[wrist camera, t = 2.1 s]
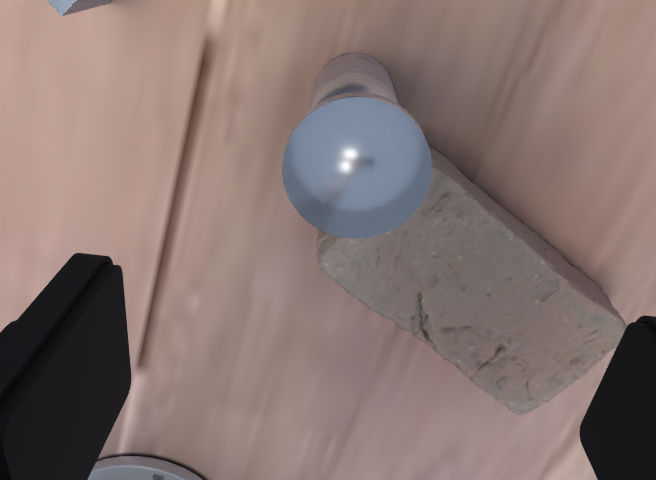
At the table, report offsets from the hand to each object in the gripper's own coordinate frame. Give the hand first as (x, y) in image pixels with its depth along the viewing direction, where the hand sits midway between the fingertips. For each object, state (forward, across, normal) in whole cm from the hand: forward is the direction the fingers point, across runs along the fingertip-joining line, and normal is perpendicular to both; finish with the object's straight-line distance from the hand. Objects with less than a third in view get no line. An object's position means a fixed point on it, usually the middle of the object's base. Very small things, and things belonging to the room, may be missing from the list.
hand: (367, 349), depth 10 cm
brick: (+20, -8, +10) cm, 24 cm away
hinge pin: (+20, 0, 0) cm, 20 cm away
